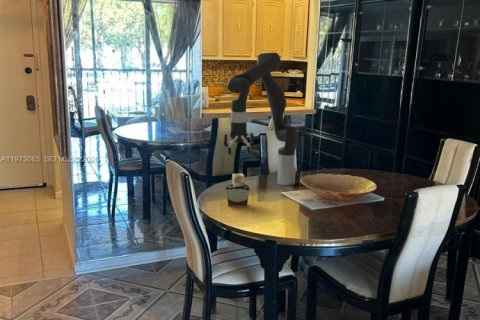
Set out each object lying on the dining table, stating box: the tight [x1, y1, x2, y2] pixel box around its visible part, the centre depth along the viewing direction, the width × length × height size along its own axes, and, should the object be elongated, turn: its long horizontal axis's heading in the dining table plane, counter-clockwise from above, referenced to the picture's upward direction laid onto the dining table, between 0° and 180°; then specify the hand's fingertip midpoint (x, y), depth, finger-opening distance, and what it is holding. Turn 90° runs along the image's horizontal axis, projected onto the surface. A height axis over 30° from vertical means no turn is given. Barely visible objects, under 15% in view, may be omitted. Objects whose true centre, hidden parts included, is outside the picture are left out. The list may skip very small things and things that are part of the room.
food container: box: [224, 183, 251, 208], centre depth 217 cm, size 12×6×10 cm, turn 84°
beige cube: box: [231, 172, 245, 187], centre depth 215 cm, size 5×5×5 cm
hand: (238, 154), depth 213 cm, fingers open, 8 cm apart
